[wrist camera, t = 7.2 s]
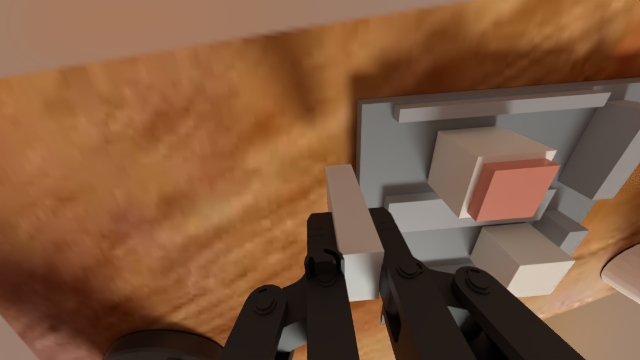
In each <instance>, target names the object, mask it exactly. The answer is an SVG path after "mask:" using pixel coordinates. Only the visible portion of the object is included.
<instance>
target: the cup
mask: <svg viewBox="0 0 640 360" xmlns="http://www.w3.org/2000/svg"><path fill="white" fill-rule="evenodd" d="M601 278H602V279H603V281H605V282H606V283H608V284H609V285H611V286H612V287H614V288H615V289H617V290H618V291H620V292H622V293H623V294H625V295H627V296H628V297H629V298H631V299H633V300H634V301H636V302H638V303H639V304H640V244H638V245H636V246H634V247H632V248H630V249H628V250H626V251H624V252H623V253H621V254H619V255H618V256H616V257H615V258H614V259H613V260H611V261H610V262H609V263H608V264H607V265H606V267H605V268H604V269H603V271H602V273H601Z"/></svg>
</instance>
